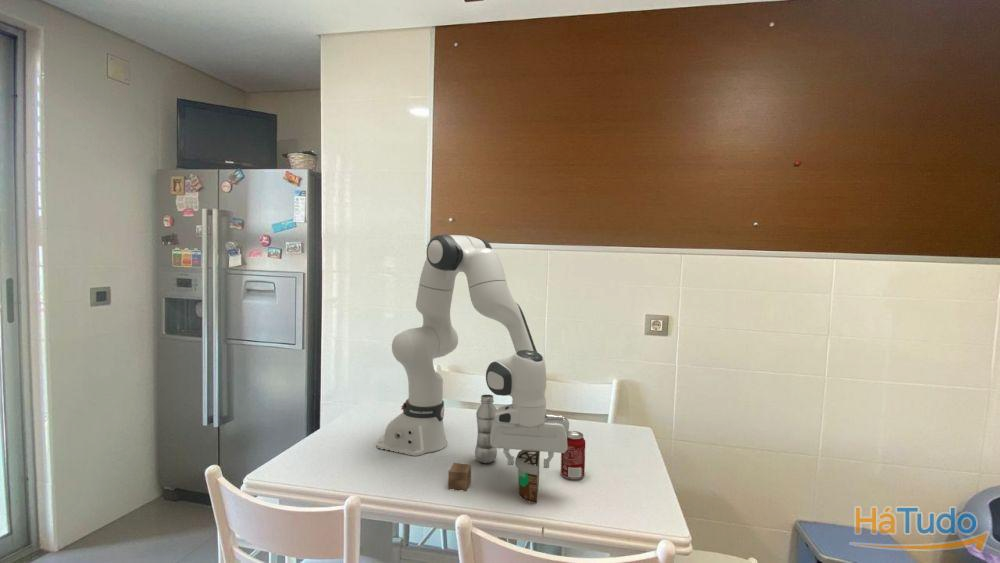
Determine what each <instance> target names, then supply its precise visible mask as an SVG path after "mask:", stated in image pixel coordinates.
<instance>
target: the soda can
mask: <svg viewBox="0 0 1000 563" xmlns="http://www.w3.org/2000/svg"><path fill="white" fill-rule="evenodd" d="M585 467H586V440H585V438H584V434H583V433H582V432H581V431H577V430H568V432H567V450H566V452H565V453H560V474H561V476H563V477H564V478H565V479H568V480H571V481H577V480H579V479H582V478H584V477H585V473H586V472H585Z"/></svg>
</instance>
